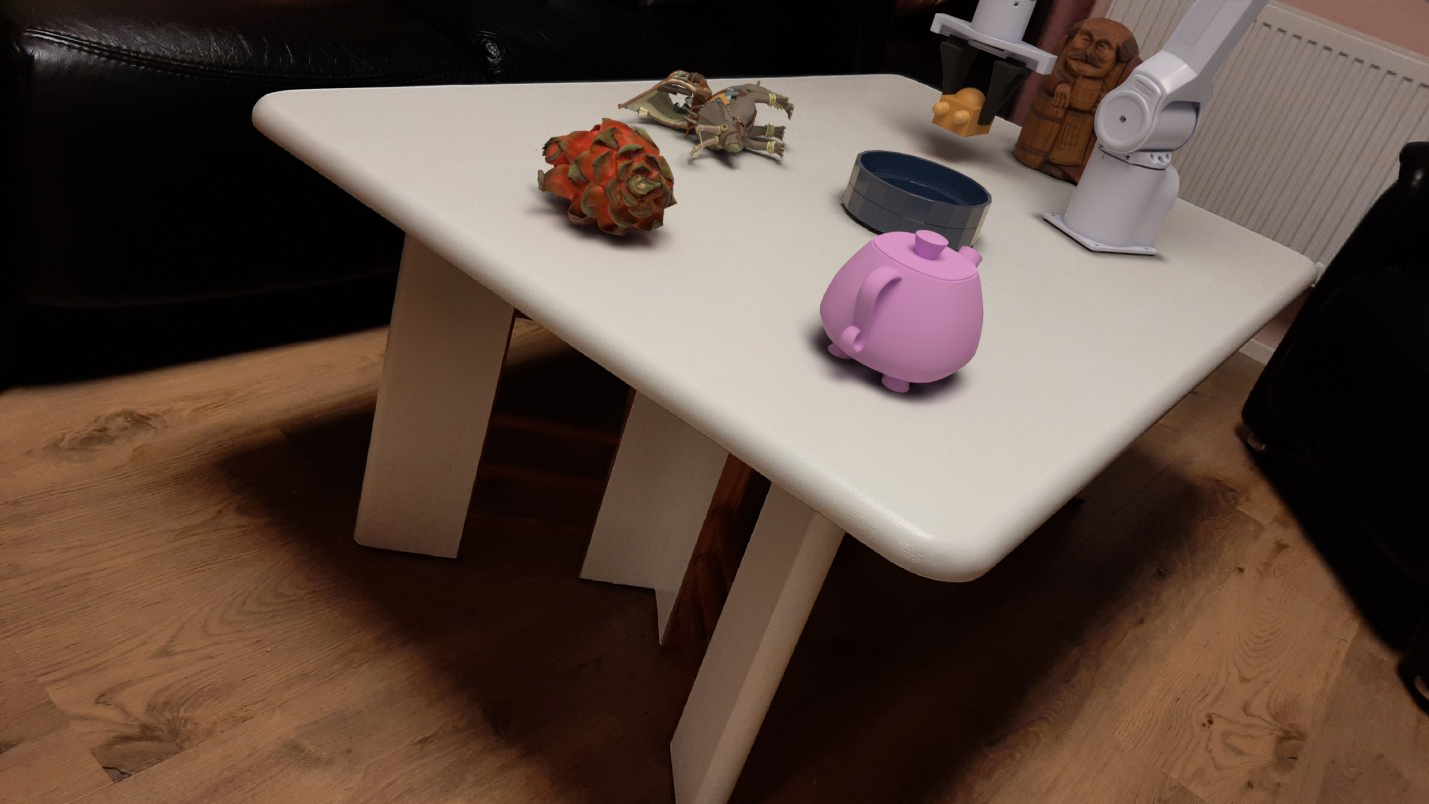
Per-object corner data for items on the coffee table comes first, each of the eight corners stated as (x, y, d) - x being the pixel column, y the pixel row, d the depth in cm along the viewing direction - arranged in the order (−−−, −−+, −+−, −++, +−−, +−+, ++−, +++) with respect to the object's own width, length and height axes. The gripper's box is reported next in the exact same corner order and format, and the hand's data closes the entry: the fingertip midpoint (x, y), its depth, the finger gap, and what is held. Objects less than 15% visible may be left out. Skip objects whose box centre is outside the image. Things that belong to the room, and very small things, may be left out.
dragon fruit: (653, 281, 76) (536, 236, 82) (717, 200, 79) (599, 163, 85) (616, 199, 69) (491, 156, 75) (687, 114, 72) (561, 80, 78)
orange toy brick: (956, 119, 122) (970, 81, 119) (988, 133, 119) (1003, 94, 117) (923, 123, 116) (937, 83, 113) (956, 138, 114) (971, 97, 111)
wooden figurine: (998, 155, 127) (1058, 5, 118) (1016, 149, 132) (1075, 4, 123) (1088, 192, 123) (1158, 39, 114) (1103, 185, 128) (1171, 37, 119)
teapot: (769, 345, 68) (810, 214, 64) (887, 303, 79) (929, 188, 75) (898, 425, 63) (952, 290, 59) (1004, 368, 74) (1057, 251, 70)
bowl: (925, 199, 104) (940, 156, 102) (1000, 257, 95) (1019, 211, 93) (817, 189, 99) (832, 144, 96) (886, 250, 89) (904, 201, 87)
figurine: (799, 135, 93) (614, 90, 92) (781, 197, 96) (603, 154, 95) (796, 69, 110) (640, 30, 108) (781, 124, 113) (629, 86, 111)
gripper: (1086, 15, 110) (1035, 137, 117) (970, -26, 117) (929, 92, 124) (1059, 13, 105) (1008, 142, 112) (940, -29, 112) (899, 94, 119)
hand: (964, 116), depth 118 cm, fingers closed on orange toy brick, 4 cm apart
